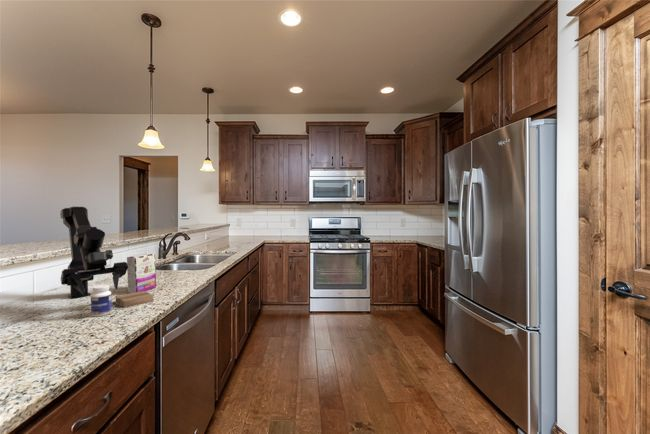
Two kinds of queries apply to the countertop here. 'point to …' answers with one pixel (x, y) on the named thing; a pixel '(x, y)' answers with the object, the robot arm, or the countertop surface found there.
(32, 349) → the countertop surface
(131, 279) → the candy bar box
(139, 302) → the walnut block
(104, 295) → the pill bottle
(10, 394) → the countertop surface
